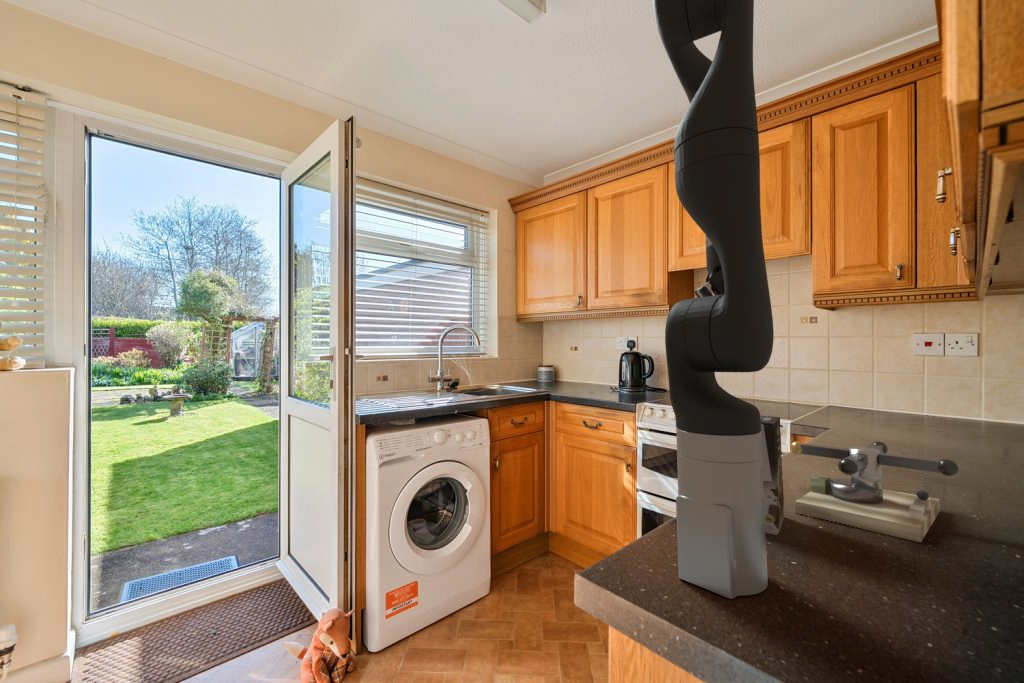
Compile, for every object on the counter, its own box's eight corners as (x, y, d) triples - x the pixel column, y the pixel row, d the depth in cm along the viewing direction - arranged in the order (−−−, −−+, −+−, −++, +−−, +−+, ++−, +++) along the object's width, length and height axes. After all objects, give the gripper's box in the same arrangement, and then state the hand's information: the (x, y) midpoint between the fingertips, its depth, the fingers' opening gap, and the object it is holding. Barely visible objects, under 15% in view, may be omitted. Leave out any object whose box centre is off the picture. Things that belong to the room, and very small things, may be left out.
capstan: (970, 498, 69) (967, 449, 69) (951, 535, 55) (947, 474, 56) (812, 472, 86) (810, 433, 86) (768, 496, 72) (766, 449, 72)
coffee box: (780, 536, 62) (775, 423, 62) (730, 526, 66) (726, 420, 66) (786, 517, 69) (781, 416, 70) (741, 509, 73) (737, 413, 74)
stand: (920, 542, 59) (919, 509, 59) (795, 513, 70) (794, 486, 71) (939, 511, 70) (938, 483, 70) (829, 490, 82) (828, 467, 82)
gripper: (704, 237, 74) (708, 338, 73) (776, 238, 75) (781, 337, 75) (683, 249, 81) (686, 340, 81) (749, 249, 83) (753, 339, 82)
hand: (732, 339), depth 78 cm, fingers closed
